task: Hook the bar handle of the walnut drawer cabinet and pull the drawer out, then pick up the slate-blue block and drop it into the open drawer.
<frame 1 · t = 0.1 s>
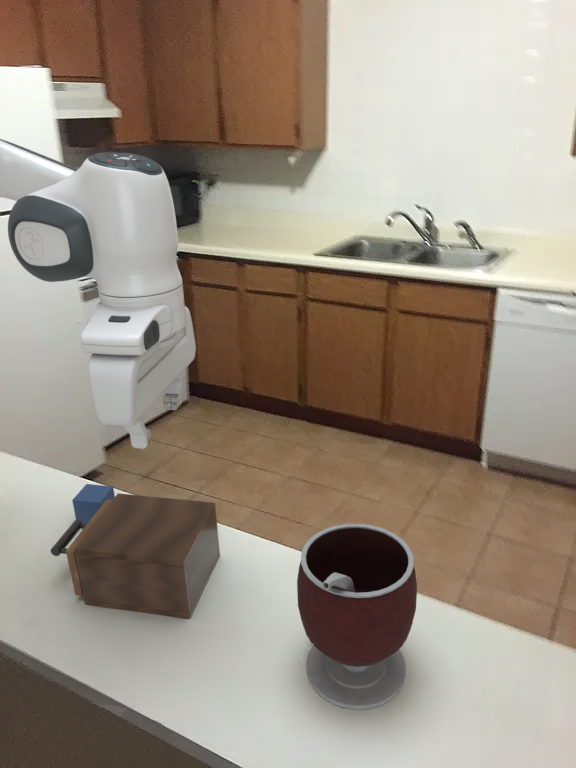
hand: (158, 425, 78), 31 cm above the countertop, tool pointing down, fingers open, 8 cm apart
cabinet: (155, 578, 100), on the countertop
drawer: (122, 549, 98), point 5 cm above the countertop, slide at 0.5 cm
block: (97, 517, 114), on the countertop
mate gourd: (353, 673, 83), on the countertop
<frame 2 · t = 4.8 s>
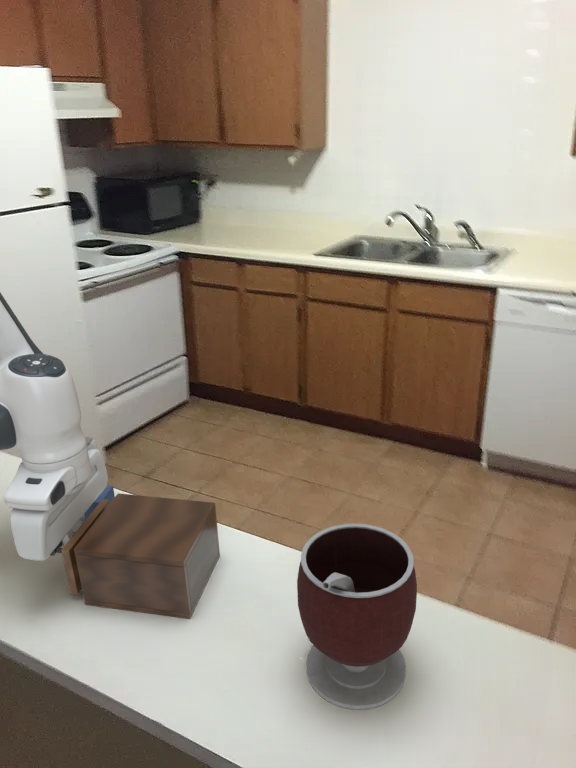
hand: (74, 545, 100), 5 cm above the countertop, tool pointing down, fingers closed
drawer: (118, 548, 99), point 5 cm above the countertop, slide at 1.2 cm
everything else where it was.
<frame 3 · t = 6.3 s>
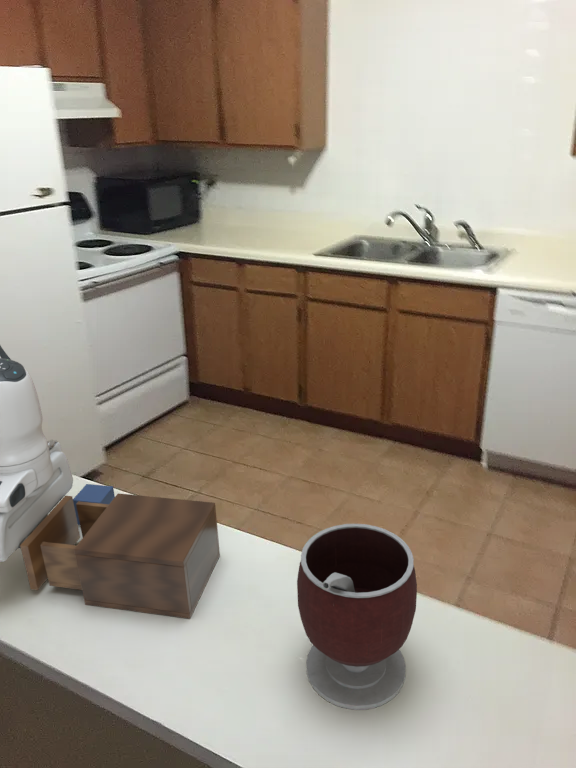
hand: (37, 546, 102), 4 cm above the countertop, tool pointing down, fingers closed
drawer: (79, 544, 100), point 5 cm above the countertop, slide at 7.6 cm
everything else where it was.
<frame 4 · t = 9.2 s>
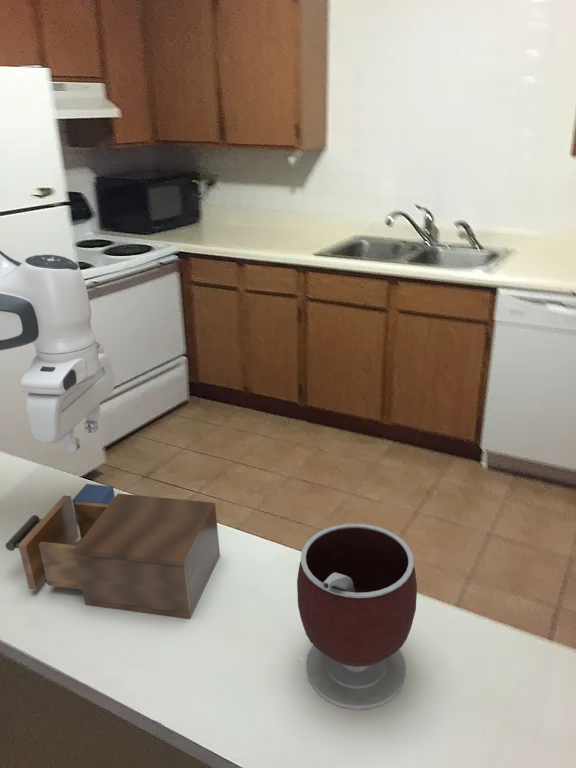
hand: (83, 440, 108), 15 cm above the countertop, tool pointing down, fingers open, 5 cm apart
nothing on the countertop moved.
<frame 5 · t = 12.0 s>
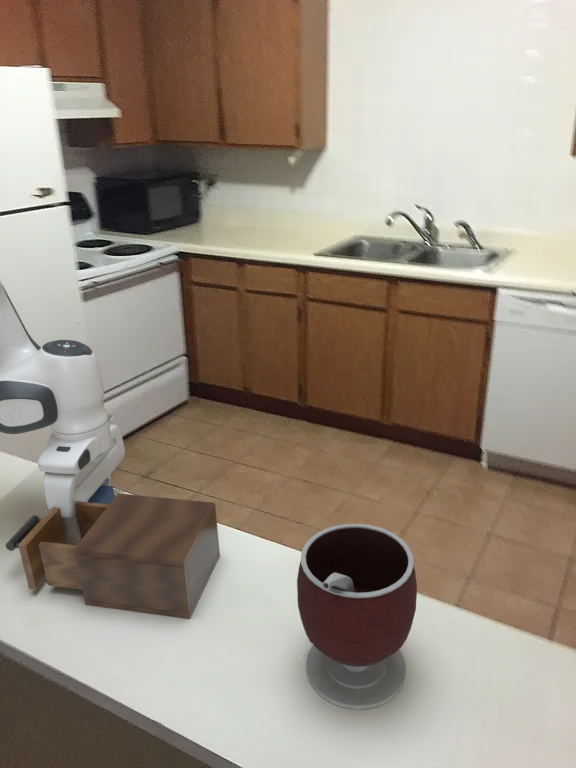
hand: (95, 508, 114), 2 cm above the countertop, tool pointing down, fingers closed on block, 5 cm apart
block: (97, 517, 114), on the countertop, touching gripper
everything else where it was.
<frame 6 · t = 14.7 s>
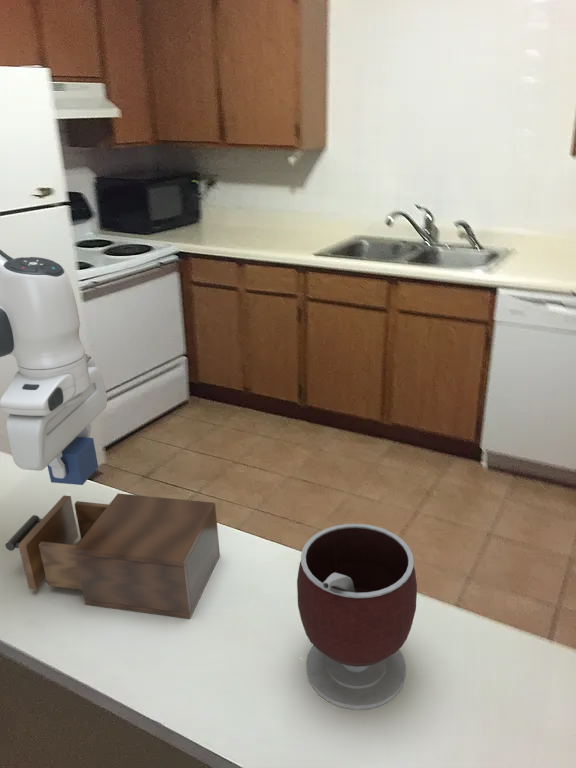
hand: (72, 464, 97), 17 cm above the countertop, tool pointing down, fingers closed on block, 5 cm apart
block: (75, 474, 98), point 15 cm above the countertop, touching gripper
everything else where it was.
when the fingers open (9 cm above the countertop, at t = 18.2 s): block stays where it is, resting on drawer.
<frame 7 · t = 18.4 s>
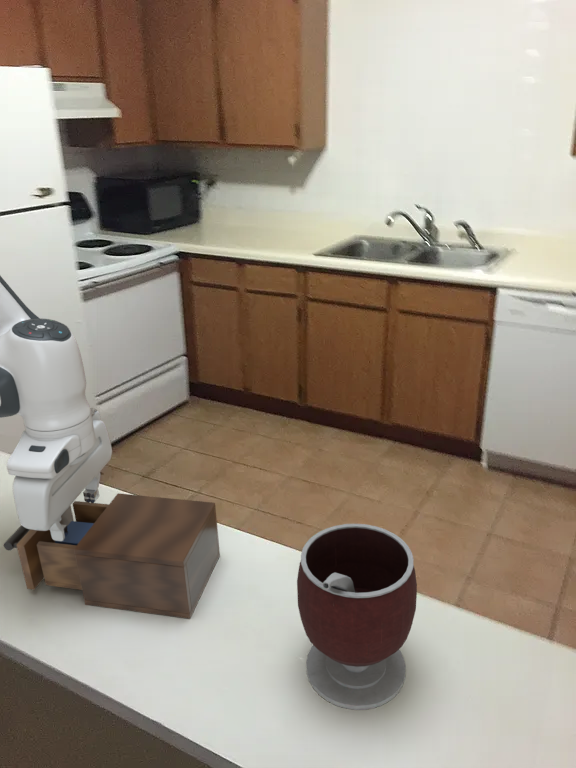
hand: (77, 518, 98), 10 cm above the countertop, tool pointing down, fingers open, 8 cm apart
drawer: (75, 543, 100), point 5 cm above the countertop, slide at 8.1 cm, touching block
block: (83, 559, 101), point 2 cm above the countertop, touching drawer
everything else where it was.
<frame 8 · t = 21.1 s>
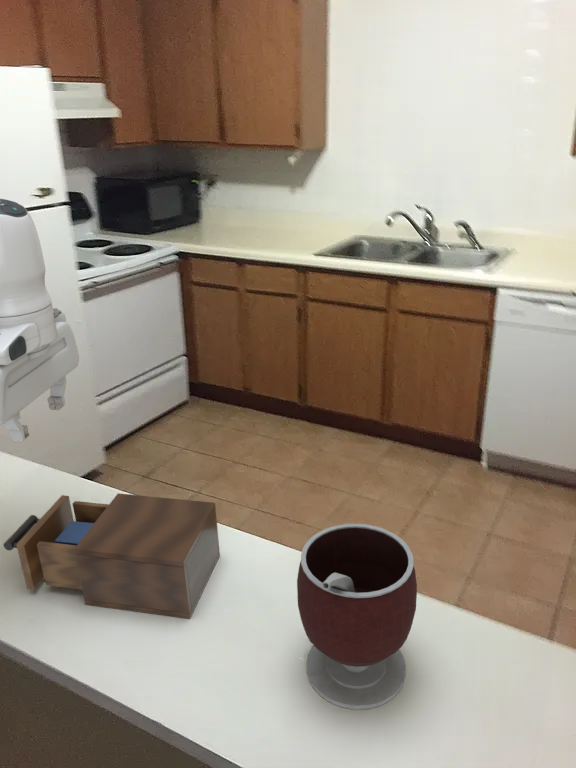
hand: (40, 423, 92), 25 cm above the countertop, tool pointing down, fingers open, 8 cm apart
nothing on the countertop moved.
at the end: drawer slide at 8.1 cm; block inside the target area in the drawer (0.8 cm from its centre), point 2.1 cm above the cabinet's base; mate gourd moved 0.2 cm from its start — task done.
